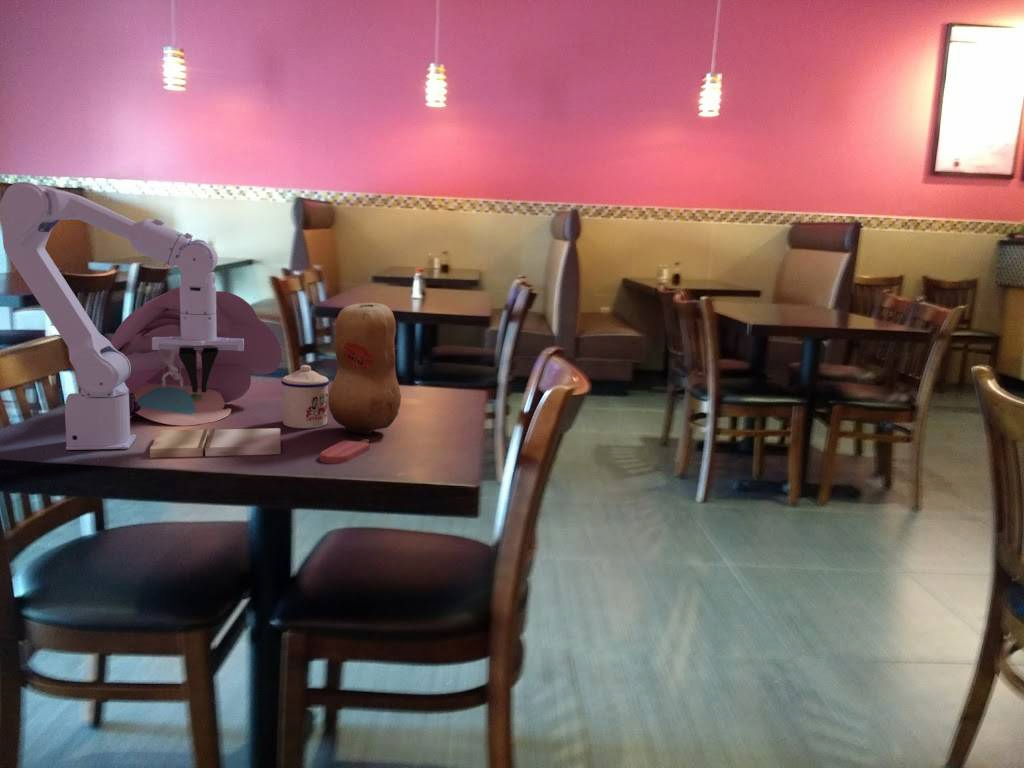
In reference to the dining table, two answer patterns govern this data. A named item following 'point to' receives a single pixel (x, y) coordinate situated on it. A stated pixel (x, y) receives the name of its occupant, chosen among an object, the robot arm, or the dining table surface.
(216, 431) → the beige flat square block
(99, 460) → the dining table surface
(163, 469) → the dining table surface
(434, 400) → the dining table surface
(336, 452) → the popsicle
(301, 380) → the teacup with lid
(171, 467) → the dining table surface
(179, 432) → the laid board
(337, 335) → the butternut squash
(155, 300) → the mauve lumpy shape
